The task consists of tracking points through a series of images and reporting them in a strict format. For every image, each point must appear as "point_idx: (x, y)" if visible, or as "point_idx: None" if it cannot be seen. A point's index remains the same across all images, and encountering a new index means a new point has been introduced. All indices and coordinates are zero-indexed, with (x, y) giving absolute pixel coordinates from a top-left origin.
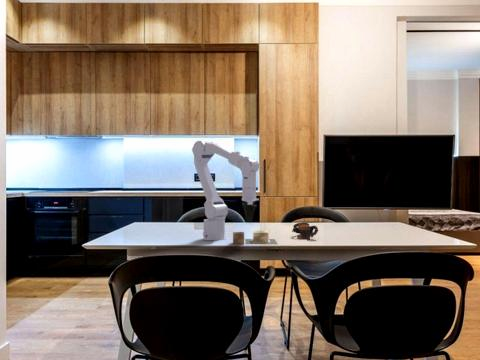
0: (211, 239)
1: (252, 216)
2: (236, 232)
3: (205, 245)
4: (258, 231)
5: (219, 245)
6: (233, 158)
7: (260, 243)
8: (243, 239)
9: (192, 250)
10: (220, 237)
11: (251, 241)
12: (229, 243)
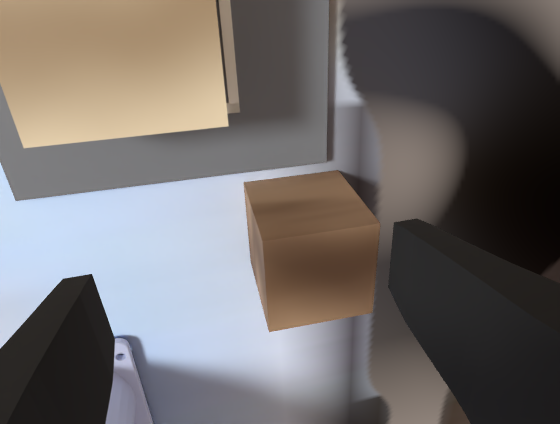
0: (148, 415)
1: (490, 263)
2: (302, 300)
3: (324, 389)
4: (93, 67)
5: (323, 326)
6: None
7: (286, 18)
8: (358, 200)
9: None
10: (115, 385)
11: None
12: (238, 286)
